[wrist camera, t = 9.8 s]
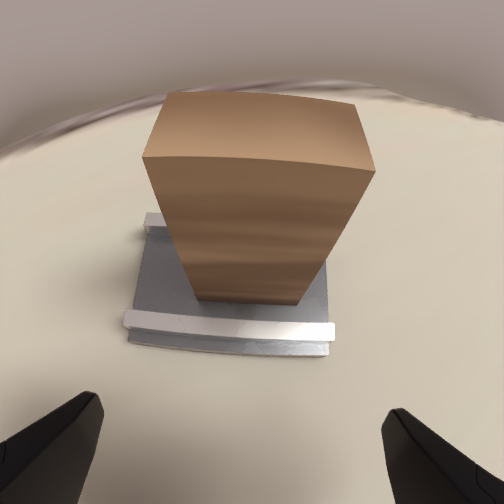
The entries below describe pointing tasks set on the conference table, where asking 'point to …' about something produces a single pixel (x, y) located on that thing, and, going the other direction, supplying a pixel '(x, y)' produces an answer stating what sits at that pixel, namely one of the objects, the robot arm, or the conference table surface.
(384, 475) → the conference table surface
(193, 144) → the upright wooden block
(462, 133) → the conference table surface
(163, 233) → the door track
